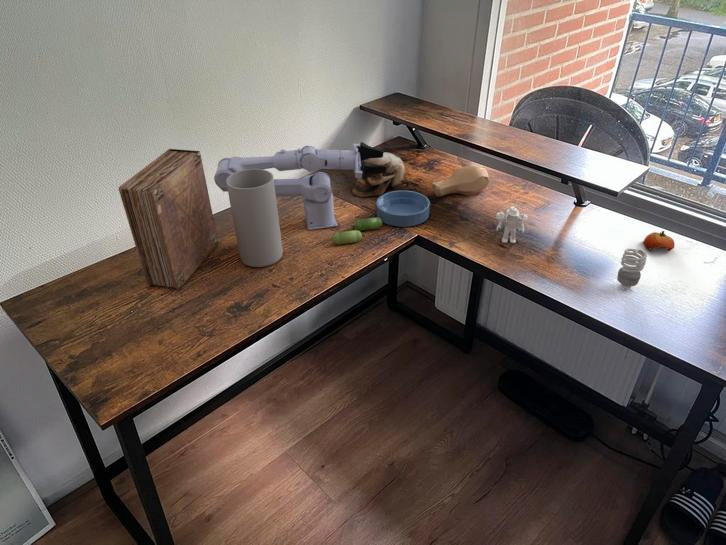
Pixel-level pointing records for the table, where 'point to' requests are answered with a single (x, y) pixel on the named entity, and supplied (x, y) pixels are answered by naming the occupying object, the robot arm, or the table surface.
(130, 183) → the book
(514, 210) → the hat wearing toy figure
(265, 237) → the cylinder vase
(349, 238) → the pale zucchini
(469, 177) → the squash
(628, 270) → the light bulb
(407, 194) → the bowl
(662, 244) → the tomato
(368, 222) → the green zucchini
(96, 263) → the table surface
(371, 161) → the coin bank
